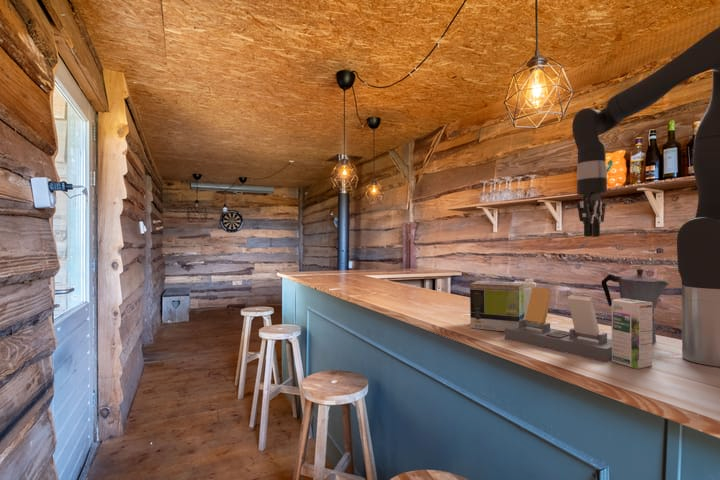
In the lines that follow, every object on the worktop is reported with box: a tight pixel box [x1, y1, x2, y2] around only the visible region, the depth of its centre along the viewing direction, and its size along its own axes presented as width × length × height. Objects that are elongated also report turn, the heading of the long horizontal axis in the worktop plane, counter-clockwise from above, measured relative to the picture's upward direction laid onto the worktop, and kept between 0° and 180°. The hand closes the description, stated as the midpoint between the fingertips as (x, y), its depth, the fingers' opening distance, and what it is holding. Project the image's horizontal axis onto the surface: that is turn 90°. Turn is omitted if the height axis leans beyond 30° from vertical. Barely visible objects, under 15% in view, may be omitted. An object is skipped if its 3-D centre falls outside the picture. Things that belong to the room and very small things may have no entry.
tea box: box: [469, 280, 525, 332], centre depth 121 cm, size 15×10×15 cm, turn 58°
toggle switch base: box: [504, 319, 612, 363], centre depth 100 cm, size 26×10×5 cm, turn 36°
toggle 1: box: [524, 287, 553, 329], centre depth 107 cm, size 5×2×12 cm, turn 36°
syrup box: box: [611, 298, 653, 370], centre depth 85 cm, size 6×6×14 cm
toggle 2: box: [567, 294, 600, 340], centre depth 93 cm, size 5×2×12 cm, turn 36°
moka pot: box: [601, 268, 670, 345], centre depth 105 cm, size 10×15×20 cm, turn 53°
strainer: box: [519, 278, 537, 322], centre depth 127 cm, size 7×7×15 cm
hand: (592, 236), depth 110 cm, fingers open, 4 cm apart
